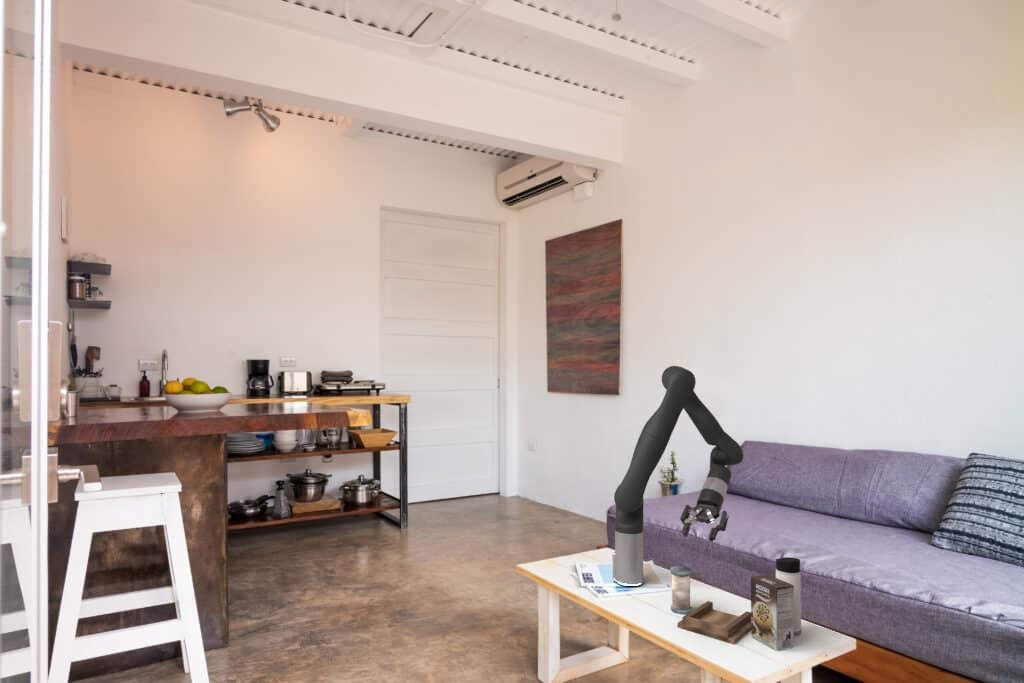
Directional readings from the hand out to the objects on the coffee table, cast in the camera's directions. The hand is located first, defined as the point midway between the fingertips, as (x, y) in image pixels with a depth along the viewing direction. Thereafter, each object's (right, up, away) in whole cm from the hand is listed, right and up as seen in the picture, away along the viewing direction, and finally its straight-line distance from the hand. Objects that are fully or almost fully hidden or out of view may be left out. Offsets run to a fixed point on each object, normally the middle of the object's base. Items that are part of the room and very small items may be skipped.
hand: (697, 537), depth 198 cm
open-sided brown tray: (0, -18, -20) cm, 27 cm away
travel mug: (+18, -19, -23) cm, 35 cm away
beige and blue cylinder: (-7, -19, -9) cm, 22 cm away
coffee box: (+11, -18, -30) cm, 37 cm away
